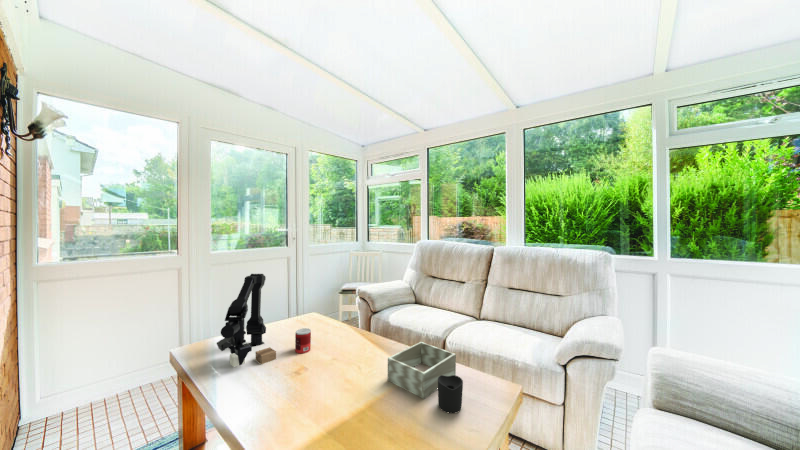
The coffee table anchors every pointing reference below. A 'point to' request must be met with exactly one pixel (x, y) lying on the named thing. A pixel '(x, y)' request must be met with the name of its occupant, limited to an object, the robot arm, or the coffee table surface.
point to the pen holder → (450, 393)
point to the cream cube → (234, 360)
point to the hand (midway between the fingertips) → (237, 362)
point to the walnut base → (265, 355)
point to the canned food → (303, 341)
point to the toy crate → (414, 378)
